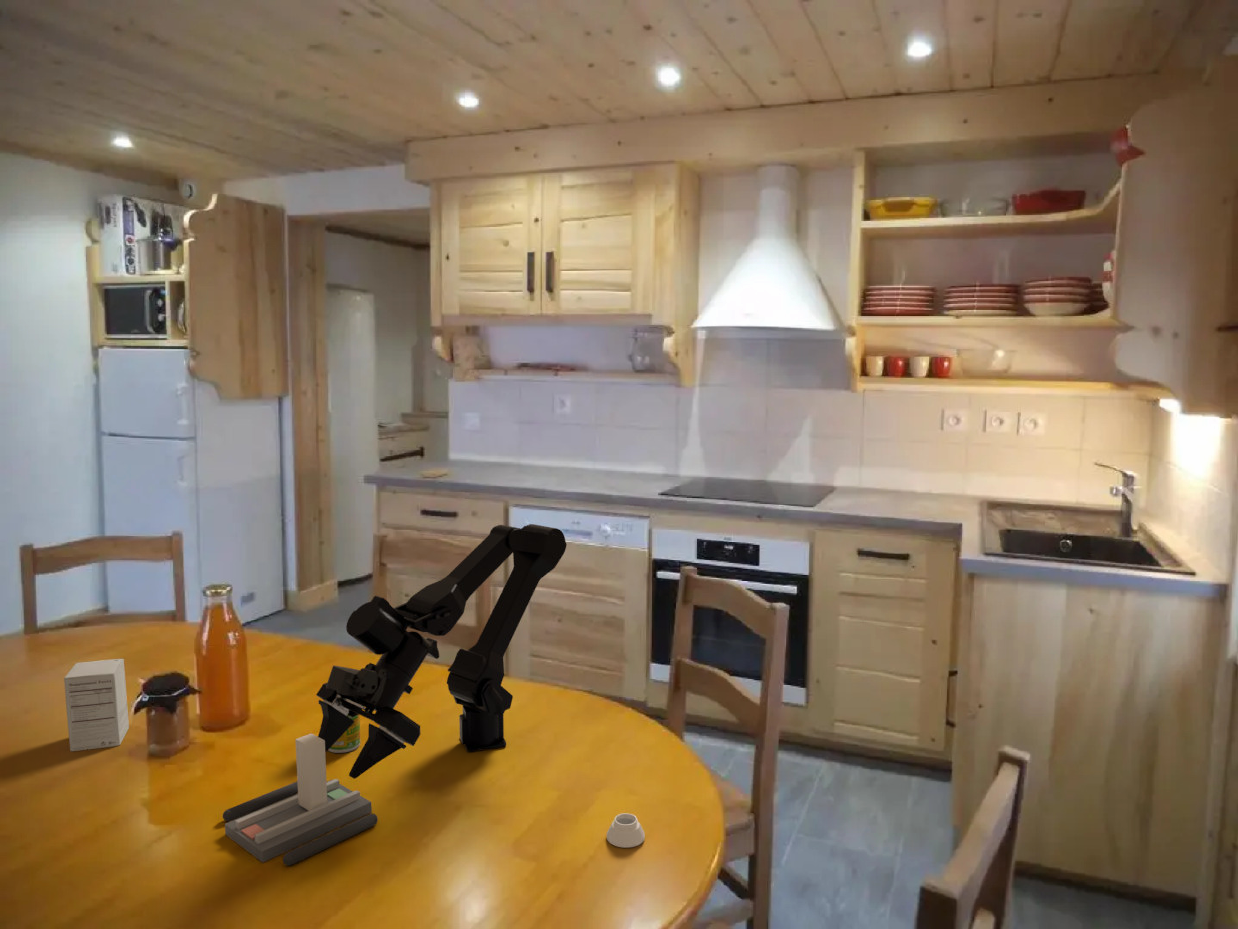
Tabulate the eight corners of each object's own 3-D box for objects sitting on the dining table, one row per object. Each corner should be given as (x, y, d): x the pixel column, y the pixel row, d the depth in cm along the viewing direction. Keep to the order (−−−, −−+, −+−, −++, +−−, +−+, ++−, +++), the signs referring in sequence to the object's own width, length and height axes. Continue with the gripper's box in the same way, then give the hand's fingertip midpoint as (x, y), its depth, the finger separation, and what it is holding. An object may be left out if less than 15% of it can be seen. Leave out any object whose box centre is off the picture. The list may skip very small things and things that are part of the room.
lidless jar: (651, 838, 115) (622, 825, 118) (652, 817, 115) (623, 805, 118) (628, 855, 111) (599, 841, 114) (628, 833, 111) (599, 820, 114)
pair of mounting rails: (311, 784, 129) (310, 773, 129) (380, 825, 118) (380, 814, 118) (220, 821, 119) (220, 810, 118) (287, 870, 107) (286, 858, 107)
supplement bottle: (350, 755, 138) (348, 697, 137) (319, 752, 139) (317, 694, 138) (366, 741, 143) (364, 685, 142) (337, 738, 145) (334, 682, 143)
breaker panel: (332, 789, 127) (331, 773, 127) (371, 812, 121) (371, 795, 121) (225, 834, 115) (224, 816, 115) (262, 862, 109) (261, 844, 109)
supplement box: (81, 733, 146) (75, 662, 144) (130, 728, 148) (125, 657, 146) (68, 752, 139) (62, 677, 137) (120, 746, 141) (114, 672, 139)
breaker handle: (314, 797, 121) (311, 733, 120) (327, 805, 119) (324, 740, 118) (298, 804, 120) (295, 739, 118) (311, 812, 117) (308, 746, 116)
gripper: (324, 629, 129) (258, 724, 122) (399, 657, 117) (331, 764, 110) (372, 664, 136) (312, 756, 129) (447, 694, 124) (386, 797, 117)
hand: (333, 767), depth 121 cm, fingers open, 9 cm apart
